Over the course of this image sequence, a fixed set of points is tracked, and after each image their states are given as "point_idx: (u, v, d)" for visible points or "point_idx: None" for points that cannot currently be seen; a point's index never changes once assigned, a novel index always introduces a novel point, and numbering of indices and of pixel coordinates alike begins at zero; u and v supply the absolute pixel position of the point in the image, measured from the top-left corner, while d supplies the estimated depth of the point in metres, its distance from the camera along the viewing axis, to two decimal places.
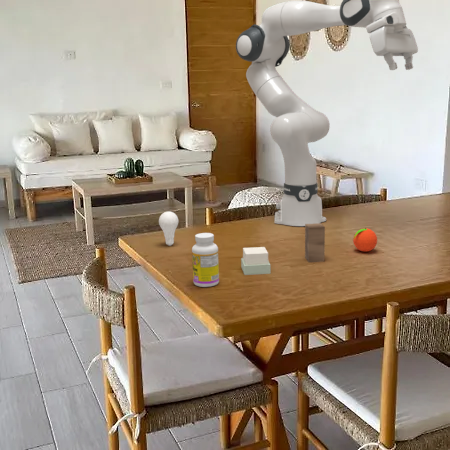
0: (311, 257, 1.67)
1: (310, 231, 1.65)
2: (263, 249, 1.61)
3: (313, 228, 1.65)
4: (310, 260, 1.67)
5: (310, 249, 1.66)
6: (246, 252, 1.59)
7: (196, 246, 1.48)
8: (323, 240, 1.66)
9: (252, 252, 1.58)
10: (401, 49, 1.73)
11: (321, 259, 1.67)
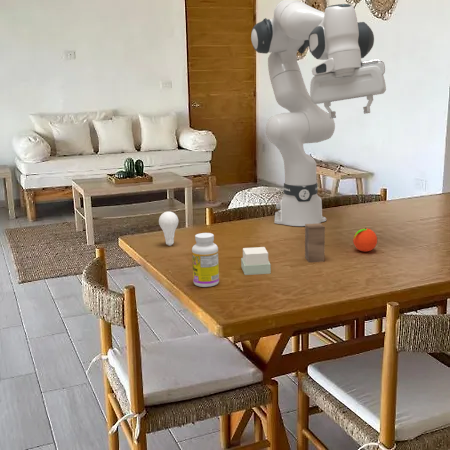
0: (311, 257, 1.67)
1: (310, 231, 1.65)
2: (263, 249, 1.60)
3: (313, 228, 1.65)
4: (310, 260, 1.67)
5: (310, 249, 1.66)
6: (246, 252, 1.58)
7: (196, 246, 1.48)
8: (323, 240, 1.66)
9: (252, 252, 1.58)
10: (342, 95, 1.61)
11: (321, 259, 1.67)
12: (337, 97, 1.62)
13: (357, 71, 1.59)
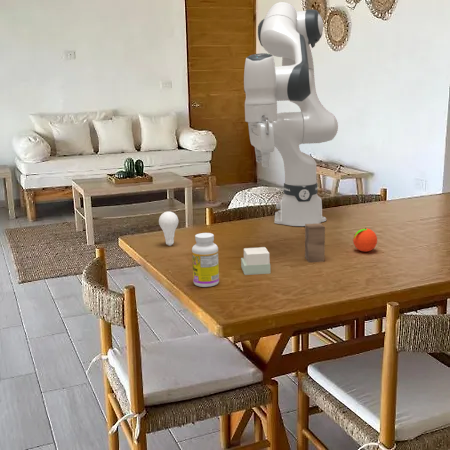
0: (311, 257, 1.67)
1: (310, 231, 1.65)
2: (264, 249, 1.60)
3: (313, 228, 1.65)
4: (310, 260, 1.67)
5: (310, 249, 1.66)
6: (247, 252, 1.58)
7: (196, 246, 1.48)
8: (323, 240, 1.66)
9: (253, 252, 1.58)
10: (254, 145, 1.66)
11: (321, 259, 1.67)
12: (254, 145, 1.67)
13: (256, 125, 1.60)
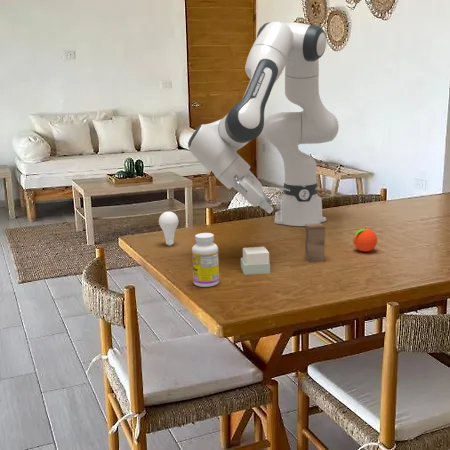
0: (311, 257, 1.67)
1: (310, 231, 1.65)
2: (263, 249, 1.61)
3: (313, 228, 1.65)
4: (310, 260, 1.67)
5: (310, 249, 1.66)
6: (247, 252, 1.58)
7: (196, 246, 1.48)
8: (323, 240, 1.66)
9: (253, 252, 1.58)
10: None
11: (321, 259, 1.67)
12: None
13: None
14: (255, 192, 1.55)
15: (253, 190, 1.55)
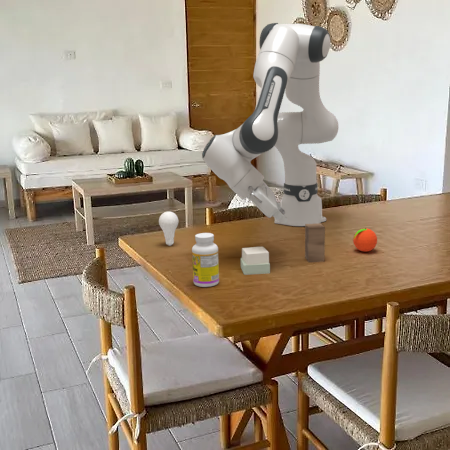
0: (311, 257, 1.67)
1: (310, 231, 1.65)
2: (263, 249, 1.61)
3: (313, 228, 1.65)
4: (310, 260, 1.67)
5: (310, 249, 1.66)
6: (247, 252, 1.58)
7: (196, 246, 1.48)
8: (323, 240, 1.66)
9: (253, 252, 1.58)
10: None
11: (321, 259, 1.67)
12: None
13: None
14: (269, 203, 1.56)
15: (267, 201, 1.56)
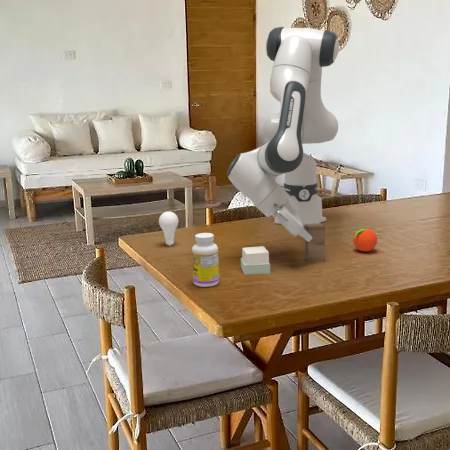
0: (311, 257, 1.67)
1: (310, 231, 1.65)
2: (263, 249, 1.61)
3: (313, 228, 1.65)
4: (310, 260, 1.67)
5: (310, 249, 1.66)
6: (246, 252, 1.59)
7: (196, 246, 1.48)
8: (323, 240, 1.66)
9: (252, 252, 1.59)
10: None
11: (321, 259, 1.67)
12: None
13: None
14: (295, 221, 1.57)
15: (293, 219, 1.57)
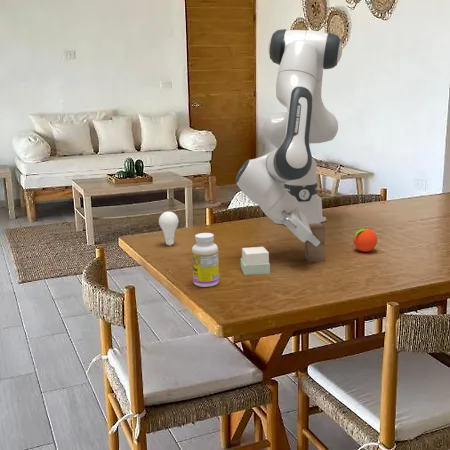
0: (311, 257, 1.67)
1: None
2: (263, 249, 1.61)
3: (313, 228, 1.65)
4: (310, 260, 1.67)
5: (310, 249, 1.66)
6: (246, 252, 1.58)
7: (196, 246, 1.48)
8: (323, 240, 1.66)
9: (252, 252, 1.58)
10: None
11: (321, 259, 1.67)
12: None
13: None
14: (304, 228, 1.57)
15: (302, 226, 1.57)
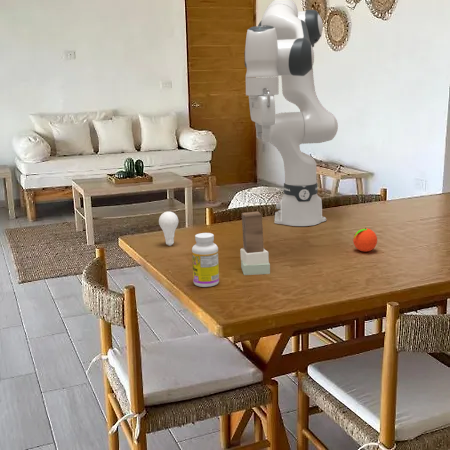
0: (250, 248, 1.57)
1: (247, 220, 1.56)
2: None
3: (250, 217, 1.55)
4: (249, 251, 1.58)
5: (248, 239, 1.57)
6: (246, 252, 1.58)
7: (196, 246, 1.48)
8: (261, 229, 1.57)
9: None
10: (255, 120, 1.62)
11: (260, 249, 1.58)
12: (254, 120, 1.64)
13: (257, 99, 1.57)
14: (273, 114, 1.52)
15: (273, 111, 1.51)
